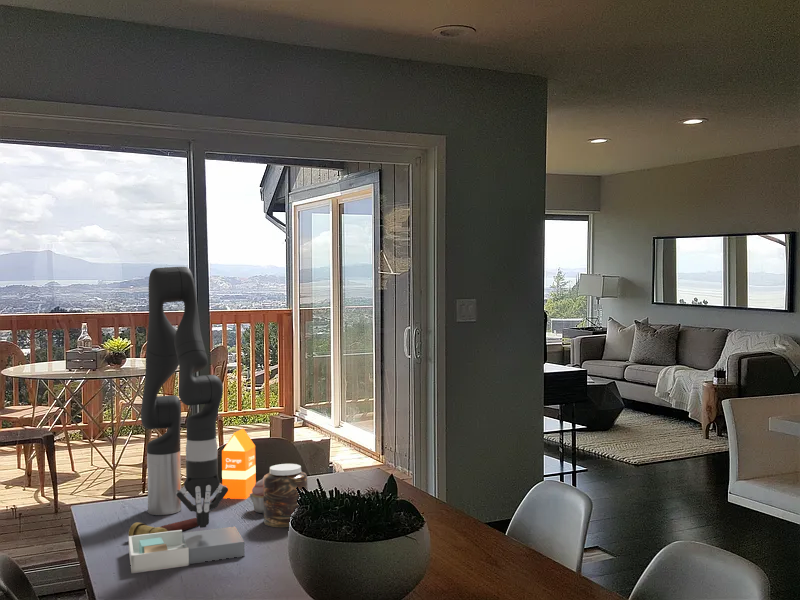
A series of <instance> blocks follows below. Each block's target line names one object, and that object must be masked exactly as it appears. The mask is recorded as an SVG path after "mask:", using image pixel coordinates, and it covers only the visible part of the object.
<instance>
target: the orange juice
mask: <svg viewBox="0 0 800 600" xmlns="http://www.w3.org/2000/svg"><path fill="white" fill-rule="evenodd" d="M256 465H257V464H256V444H255V443H254V442H253V440H252V439H251V437H250V436H249V434H248V432H247V431H246V430H245V428H241V429H240V430H237V431H235V432H234V433H233V434H232V435H231V437H230V438H229V440H228V441H227V443H226V445H225V446H224V448H223V449H222V450H221V478H222V479H221V480H222V481H221V484H222V485H225V486H227V488H228V492H227V493H226V495H225V496H224V497H223V499H227V498H230V499H233V500H247V499H248V498H250V493H252V488H253V487H254V486H255V483H257V480H256V476H257V475H256V473H257V472H256V471H257V470H256Z"/></svg>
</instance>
